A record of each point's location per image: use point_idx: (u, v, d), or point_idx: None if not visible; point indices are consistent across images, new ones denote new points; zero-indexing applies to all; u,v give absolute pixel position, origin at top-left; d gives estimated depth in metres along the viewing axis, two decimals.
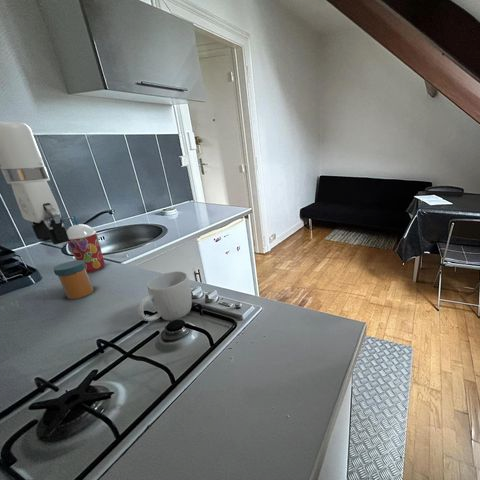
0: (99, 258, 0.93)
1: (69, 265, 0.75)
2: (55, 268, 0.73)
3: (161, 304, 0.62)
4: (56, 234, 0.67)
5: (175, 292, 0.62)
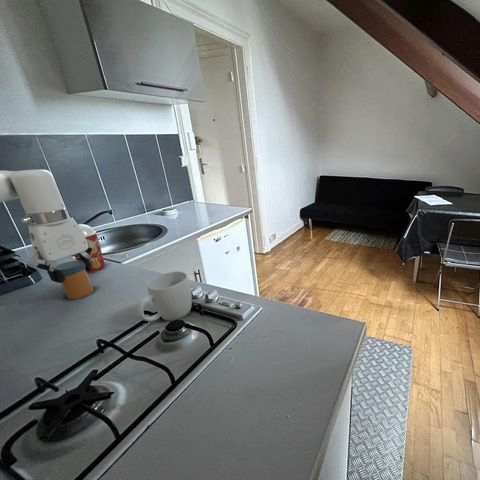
0: (99, 258, 0.93)
1: (69, 265, 0.75)
2: None
3: (161, 304, 0.62)
4: (89, 261, 0.79)
5: (175, 292, 0.62)
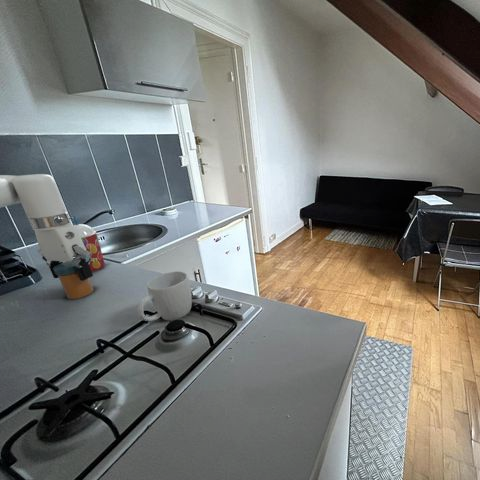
0: (99, 258, 0.93)
1: (71, 263, 0.76)
2: (72, 266, 0.74)
3: (161, 304, 0.62)
4: None
5: (175, 292, 0.62)
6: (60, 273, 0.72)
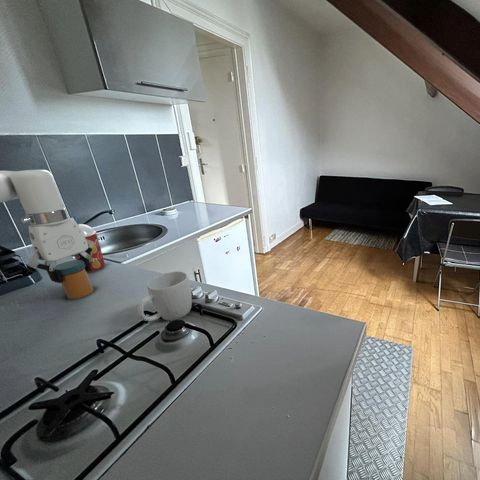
0: (99, 258, 0.93)
1: (71, 263, 0.76)
2: (72, 266, 0.74)
3: (161, 304, 0.62)
4: (89, 262, 0.79)
5: (175, 292, 0.62)
6: (60, 273, 0.72)
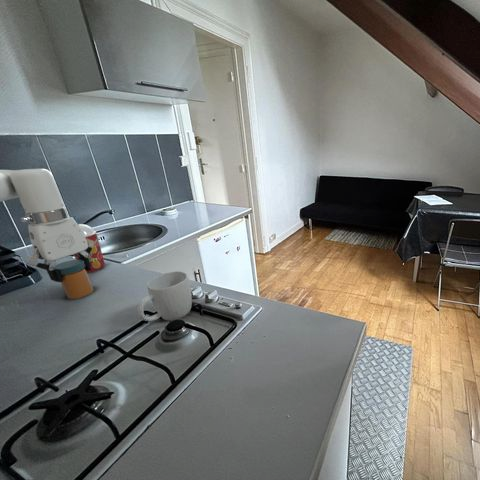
0: (99, 258, 0.93)
1: (67, 263, 0.75)
2: (80, 260, 0.77)
3: (161, 304, 0.62)
4: (88, 261, 0.79)
5: (175, 292, 0.62)
6: (83, 266, 0.76)
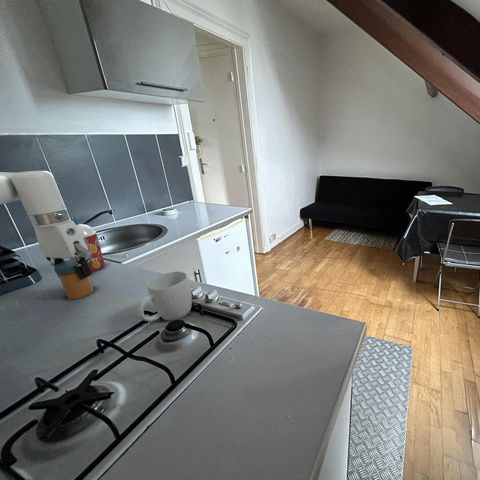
0: (99, 258, 0.93)
1: (67, 264, 0.74)
2: (62, 262, 0.76)
3: (161, 304, 0.62)
4: None
5: (175, 292, 0.62)
6: None
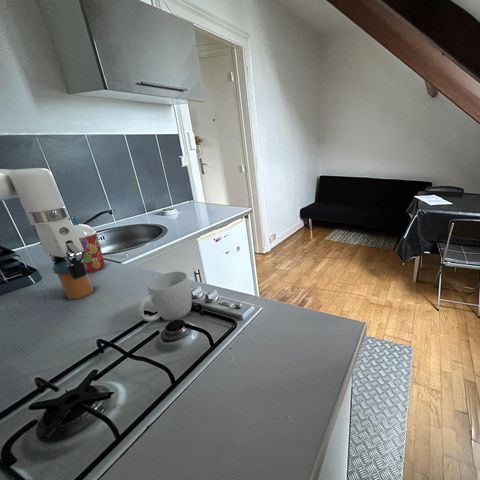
0: (99, 258, 0.93)
1: None
2: (56, 267, 0.72)
3: (161, 304, 0.62)
4: None
5: (175, 292, 0.62)
6: None
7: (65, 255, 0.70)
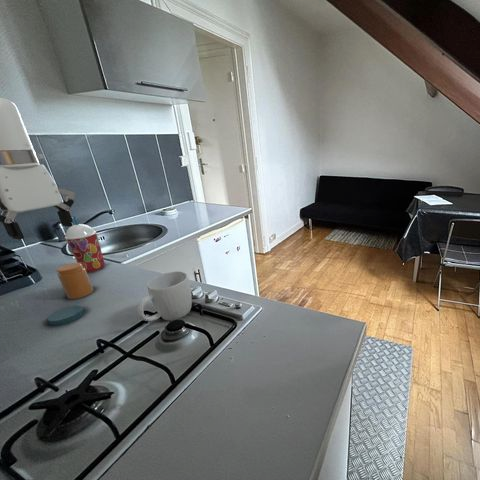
0: (99, 258, 0.93)
1: (68, 311, 0.68)
2: (73, 314, 0.66)
3: (161, 304, 0.62)
4: (6, 228, 0.58)
5: (175, 292, 0.62)
6: (61, 324, 0.65)
7: (61, 200, 0.65)
